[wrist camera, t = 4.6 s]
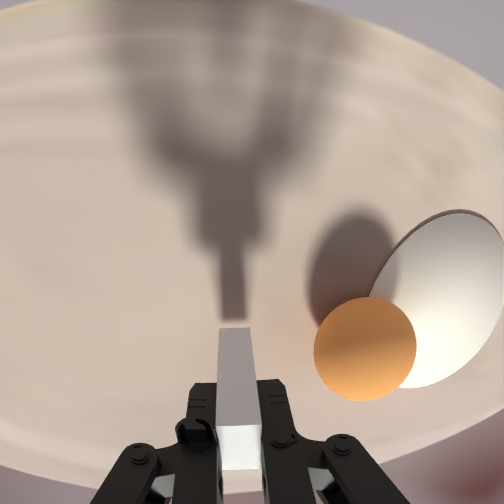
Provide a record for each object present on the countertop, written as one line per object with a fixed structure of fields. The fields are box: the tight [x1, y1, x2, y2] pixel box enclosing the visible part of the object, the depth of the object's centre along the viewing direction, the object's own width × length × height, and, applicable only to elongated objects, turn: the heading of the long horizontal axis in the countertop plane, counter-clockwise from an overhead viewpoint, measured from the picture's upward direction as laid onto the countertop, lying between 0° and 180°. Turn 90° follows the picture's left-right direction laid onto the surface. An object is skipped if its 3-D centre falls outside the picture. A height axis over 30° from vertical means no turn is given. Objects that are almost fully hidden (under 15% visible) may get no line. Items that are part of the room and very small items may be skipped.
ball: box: [314, 297, 417, 401], centre depth 15 cm, size 6×6×6 cm
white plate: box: [369, 213, 504, 388], centre depth 18 cm, size 13×13×1 cm
